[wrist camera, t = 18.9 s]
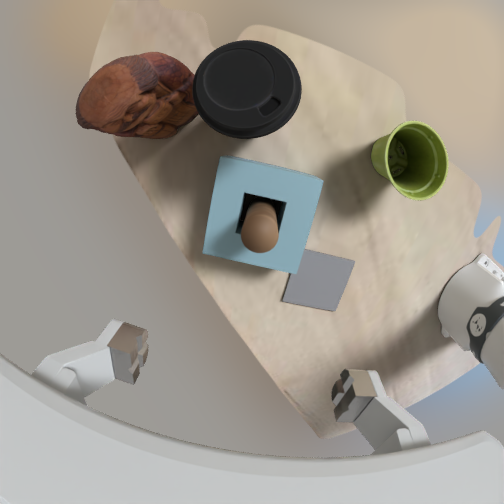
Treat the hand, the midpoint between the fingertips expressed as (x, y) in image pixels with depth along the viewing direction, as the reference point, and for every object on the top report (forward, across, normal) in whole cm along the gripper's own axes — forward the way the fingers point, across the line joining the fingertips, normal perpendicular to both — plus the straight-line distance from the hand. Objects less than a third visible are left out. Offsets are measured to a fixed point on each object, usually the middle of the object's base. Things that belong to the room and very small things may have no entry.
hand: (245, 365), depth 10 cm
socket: (+29, 0, 0) cm, 29 cm away
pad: (+29, -11, +9) cm, 32 cm away
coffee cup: (+29, +4, -13) cm, 32 cm away
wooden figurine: (+29, +15, -11) cm, 35 cm away
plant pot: (+29, -16, -12) cm, 35 cm away
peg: (+29, 0, 0) cm, 29 cm away
